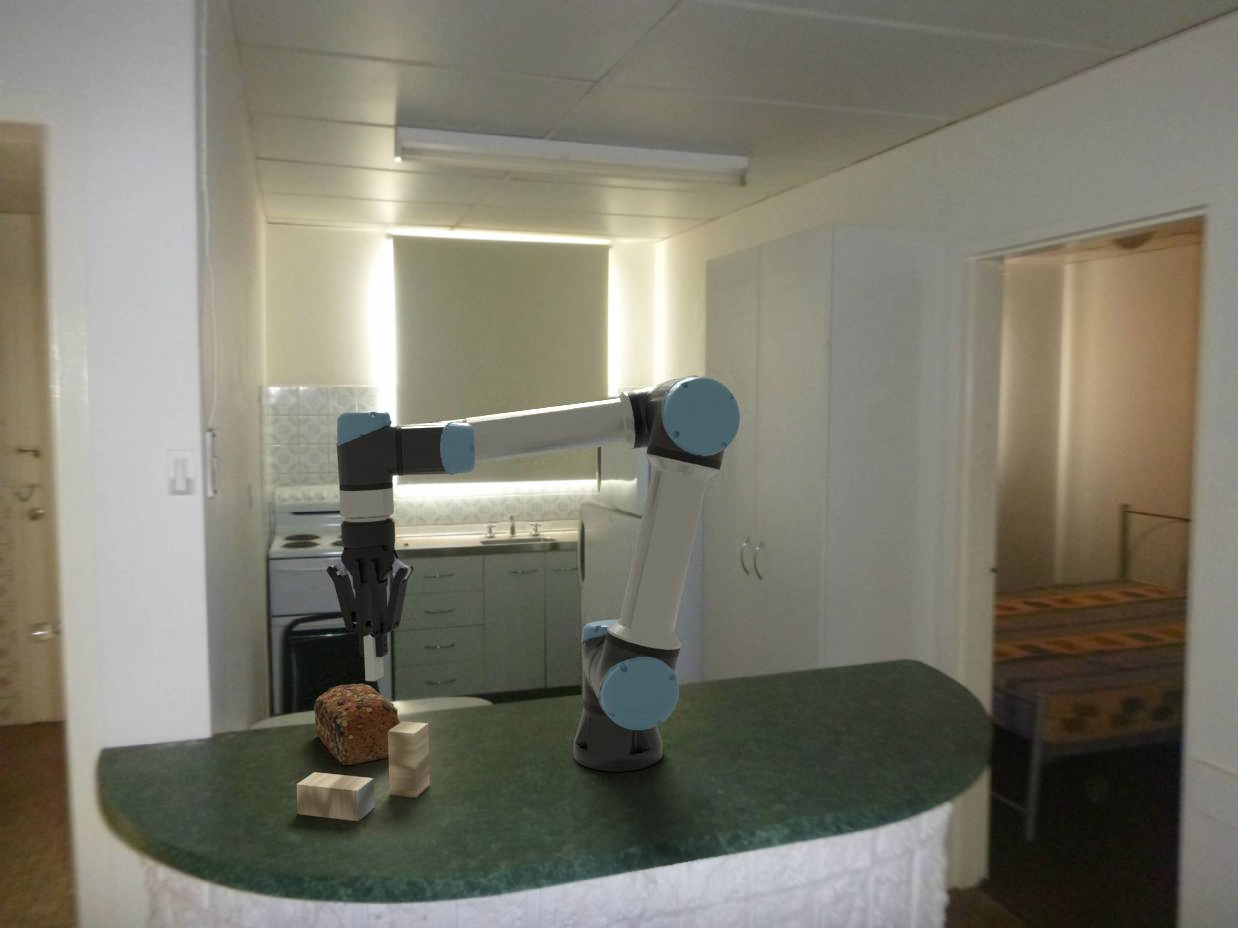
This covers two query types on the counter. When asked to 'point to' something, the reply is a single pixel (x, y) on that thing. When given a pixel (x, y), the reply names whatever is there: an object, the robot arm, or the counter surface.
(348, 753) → the bread
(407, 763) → the light wood tall block
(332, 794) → the light wood rectangular bar
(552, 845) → the counter surface
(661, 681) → the robot arm
